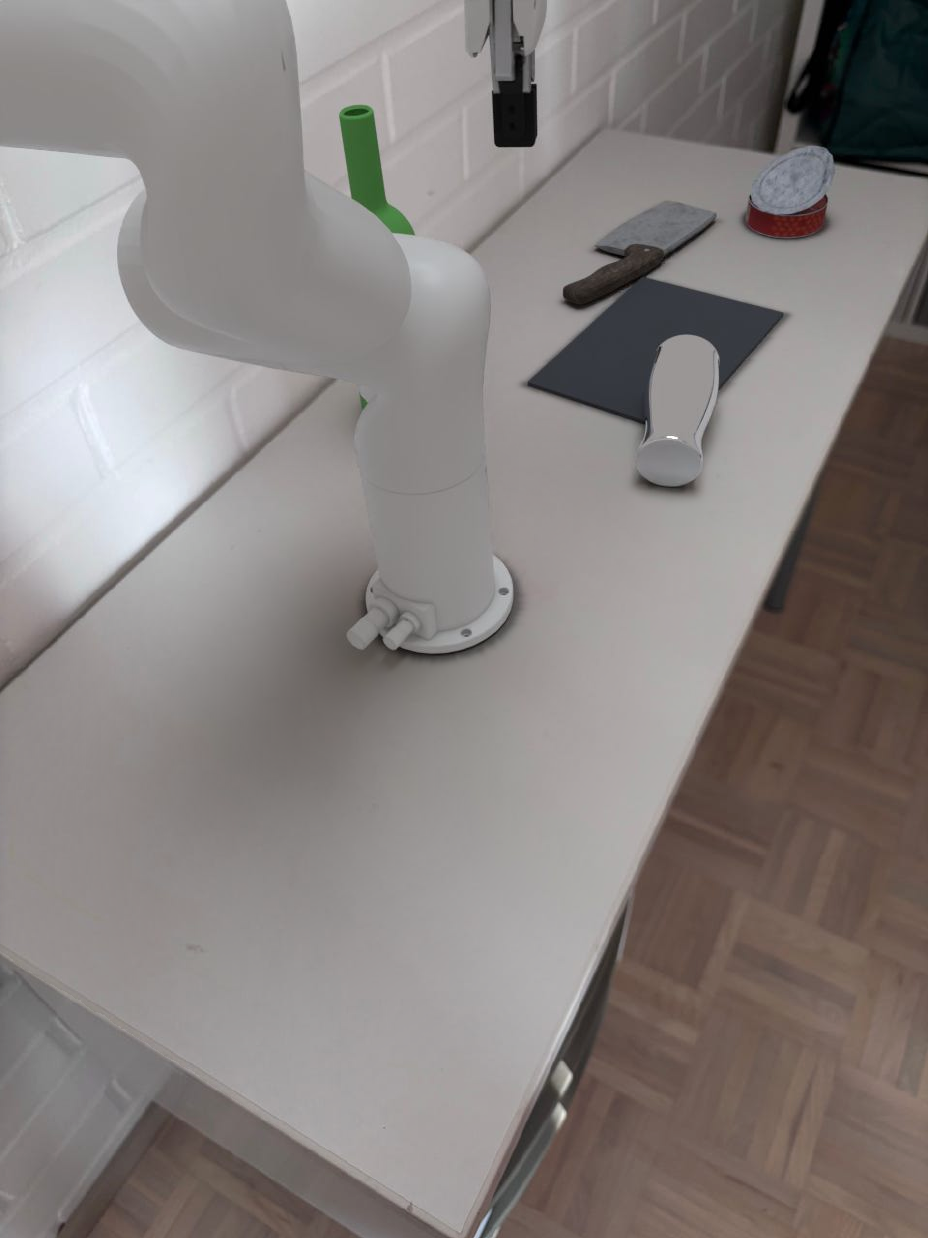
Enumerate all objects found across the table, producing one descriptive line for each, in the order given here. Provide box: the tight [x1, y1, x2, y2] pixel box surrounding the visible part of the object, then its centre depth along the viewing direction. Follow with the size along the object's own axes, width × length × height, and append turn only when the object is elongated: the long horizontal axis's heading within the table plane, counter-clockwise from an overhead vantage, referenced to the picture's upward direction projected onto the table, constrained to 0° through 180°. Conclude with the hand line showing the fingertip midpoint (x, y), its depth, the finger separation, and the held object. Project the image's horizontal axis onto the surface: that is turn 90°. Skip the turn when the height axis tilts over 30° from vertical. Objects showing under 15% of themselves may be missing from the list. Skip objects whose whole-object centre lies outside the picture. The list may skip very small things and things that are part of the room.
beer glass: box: [634, 335, 720, 488], centre depth 91 cm, size 7×7×15 cm
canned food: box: [744, 145, 836, 240], centre depth 121 cm, size 11×10×10 cm
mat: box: [527, 276, 784, 424], centre depth 105 cm, size 26×18×1 cm
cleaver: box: [562, 201, 718, 305], centre depth 120 cm, size 30×10×2 cm, turn 141°
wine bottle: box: [338, 104, 416, 411], centre depth 89 cm, size 8×8×30 cm
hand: (515, 142), depth 74 cm, fingers closed
